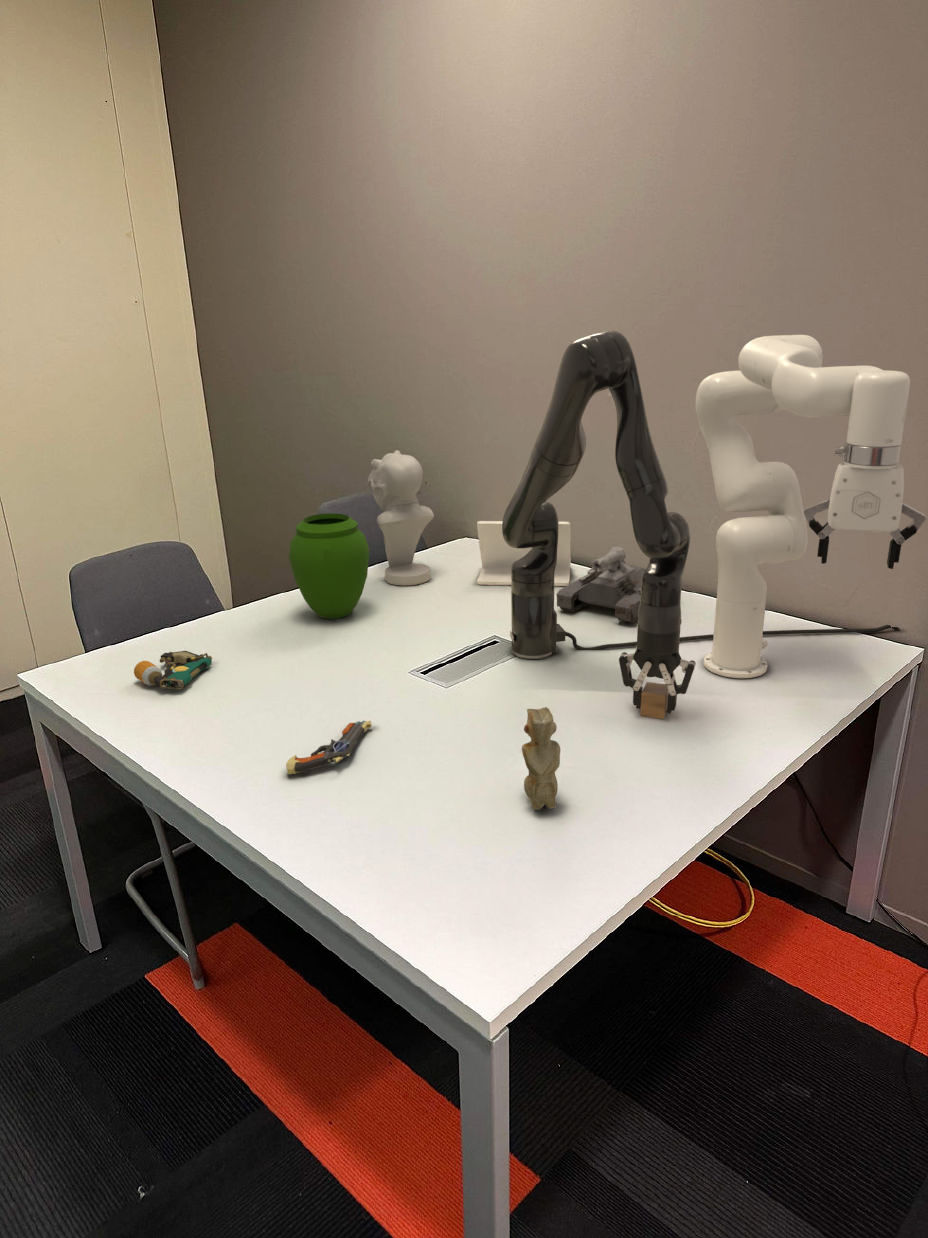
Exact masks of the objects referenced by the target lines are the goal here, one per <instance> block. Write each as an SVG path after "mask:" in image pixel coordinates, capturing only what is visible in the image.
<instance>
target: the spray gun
mask: <svg viewBox="0 0 928 1238" xmlns="http://www.w3.org/2000/svg"><path fill="white" fill-rule="evenodd" d="M212 660H213V657H212V656H211V655H208V653H207V652H205V653H201V654H197V653H194V652H192V651H191V652H190V651H188V650H180V651H169V652H164V653H162V654H161V655H160V658H159V660H158V662H159V663H161V664H163V663H165V664H166V668H165V670H163V672H164V674H163V673H162V669H160V668H159V666H157V665H156V664H154V663H152V662H151V661H149V660H141V661H139V662H138V663H136V665H135V666H134V668H133V675H134V677H135V678H136V679H137V680H139V681H140V682H142V683H143V684H145V685H147V686H155V685H157V686H158V687H160V688H161V689H171V690H172V689H173V690H182V689H184V687H185V686H186V685H188V684H189V683H190V682H191V681H192V679H193V678H195V677H196V676H197V675H198V674H200V673H201V672H202V671H203V670H206V669H208V668H209V667H210V666H211V665H212V662H213V661H212ZM178 663H179V664H181V665H179V666H176V665H177V664H178Z"/></svg>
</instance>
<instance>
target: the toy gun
mask: <svg viewBox="0 0 928 1238" xmlns="http://www.w3.org/2000/svg"><path fill="white" fill-rule="evenodd" d="M372 726H373V723H372V721H371V720H362V721H359V720H357V722H349V723H348V724H347V725H346V726H345V728H344V729H343V730H342V731H341V734H342V736H341V737H340V738H339V739H338V740H335V739H331V740H330V743H329V744H323V745H320V746H319V747H317V749H316V750H314V751H313V752H312V753H311V754H310V756H307V757H298V756H297V754H295V755H293V756H292V757H290V758H289V759H288V760H287V762H286V766H285V767H286V771H287V774H288V775H295V774H299V773H303V772H307V771H309V770H313V769H317V768H320V767H324V766H326V765H330V764H331V763H336V764H337V763H339V762H340V761H342V760H344V758H346V757H349V756H350V755H351V753H352V752H353V751H354V749H355V748H356V747H357V746H356V745H357V742H358V741H359V740H360V738H361V737H362V736H363V734H364V733H366V732H367V730H369V729H370V728H372Z"/></svg>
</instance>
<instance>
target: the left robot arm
mask: <svg viewBox="0 0 928 1238" xmlns="http://www.w3.org/2000/svg"><path fill="white" fill-rule="evenodd" d="M554 383H555V384H554V387H553V392H552V396H551V400H550V403H549V405H548V408H547V410H546V415H545V417H544V419H543V422H542V425H541V428H540V430H539V432H538V435H537V438H536V440H535V443H534V446H533V448H532V450H531V453H530V457H529V460H528V463H527V465H526V468H525V470H524V473H523V475H522V477H521V480H520V482H519V484H518V486H517V488H516V490H515V492H514V494H513V495H512V497H511V499H510V501H509V502H508V505H507V506H506V509H505V511H504V514H503V517H502V521H503V522H502V534H503V538H504V540H505V542H506V544H507V545H508V546H510V547H512V548H517V549H523V548H531V547H532V549H531V550H530V551H529V552H528V553H527V554H526V555H525V556H524V557H522V558H520V559H519V560H517V561H515V562H514V563H513V564H512V567H511V585H510V588H511V589H510V597H511V599H510V603H511V604H510V606H511V607H510V609H511V610H510V615H511V617H510V618H511V621H510V622H511V630H509V637H510V639H511V643H510V644H511V647H510V651H511V653H512V655H513V656H515V657H518V658H521V659H525V660H526V659H527V660H540V659H545V658H548V657H550V656H552V655H557V654H558V653H557V650H558V649H557V648H558V647H557V645H558V644H557V643H560V642H561V643H562V642H566V638H569V639H571V640H572V646H573V648H574V649H576V650H578V651H601V650H607V649H618V648H628V647H629V648H630V647H636V649H635V651H634V653H628V652H626V651H624V652H621V654H620V656H619V658H618V662H619V663H618V664H619V668H620V673H621V678H622V684H623V686H624V687H625V688H626V687H629V688H631V689H632V705H633V706H635V709H637V710H641V694H642V691H643V689H644V686H642V685H643V684H644V681H645V679H646V677H647V678H657V679H661V680H663V681H664V684H666V685H667V688H668V691H669V694H668V703H667V713H666V714H672V712H674V711H675V710H676V707H677V701H678V695H680V694H681V695H686V693H687V692H688V687H689V686H690V682H691V680H692V676H693V674H694V670H695V668H696V664H697V663H696V661H695V660H692V659H691V660H687V659H683V658H682V656H681V655H680V642H686V641H687V642H688V641H689V642H690V641H699V640H710V639H711V640H713V637H714V633H713V634H701V635H691V636H690V635H689V636H681V626H682V605H681V604H682V602H681V601H682V600H681V599H682V587H683V585H682V584H683V583H682V582H683V581H682V580H683V578H682V577H683V574H684V571H685V567H686V563H687V559H688V555H689V550H690V544H691V529H690V525H689V523H688V521H687V520H686V518H685V517H684V516H683V515H682V514H680V513H678V512H674V511H668V509H667V505H666V498H667V496H668V494H669V486H668V482H667V479H666V477H665V473H664V471H663V468H662V466H661V463H660V460H659V457H658V455H657V452H656V449H655V445H654V442H653V440H652V439H653V438H652V435H651V432H650V428H649V423H648V417H647V412H646V407H645V402H644V401H645V400H644V397H643V396H644V395H643V391H642V387H641V383H640V377H639V372H638V367H637V362H636V358H635V355H634V352H633V348H632V346H631V344H630V342H629V340H628V339H627V337H626V336H625V335H623V334H622V333H621V332H619V331H618V330H613V329H611V330H605V331H601V332H598V333H595V334H592V335H588V336H585V337H584V336H583V337H581V338H578V339H576V340H573V342H571V343H570V344H569V345H568V346H567V347H566V349H565V350H564V353H563V354H562V357H561V361H560V364H559V367H558V372H557V376H556V379H555V382H554ZM605 390H609V392H610V395H611V397H612V399H613V402H614V406H615V411H616V435H615V447H614V457H615V466H616V468H617V473H618V476H619V478H620V481H621V483H622V487H623V489H624V492H625V494H626V497H627V499H628V502H629V508H630V510H629V511H630V519H631V523H632V530H633V535H634V538H635V541H636V543H637V546H638V548H639V549H640V551H641V552H642V553H643V555H644V556H646V557H647V558H648V559H649V561H648V565H647V566H646V568H644V569H645V571H644V572H643V575H642V579H641V596H640V606H639V611H638V620H637V633H636V641H629V642H620V643H619V642H618V643H606V644H600V645H596V646H591V647H584V646H581V645H578V644H577V638H576V636H575V635H573V634H572V633H570V632H568V631H566V630H565V629H564V628H563V626H561V625H560V623H558V613H557V612H556V611H555V586H554V571H555V568H556V564H557V548H558V533H559V522H560V521H559V516H558V512H557V509H556V507H555V506H554V504H553V503H551V502H550V501H548V500H549V499H550V498H551V497H553V496H554V495H555V494H557V493H558V492H559V491H561V489H563V488H564V487H565V486H566V485H567V484H568V483H569V482H570V481H571V480H572V478H573V477H574V476H575V474H576V472H577V471H578V468H579V466H580V465H581V461H582V459H583V457H584V454H585V451H586V449H587V437H586V436H587V435H586V432H585V429H584V426H583V423H582V419H583V416H584V413H585V410H586V408H587V406H588V404H589V402H590V400H591V399H592V398H593V396H594V395H595V394H596V393H599V392H602V391H605ZM888 629H892V630H894V631H896V632H901V629H900V628H899V627H898V626H897V627H892V628H891V626H890V625H888V624H885V625H882V626H878V627H871V628H869V627H868V628H824V629H823V628H819V629H817V628H816V629H815V628H813V629H782V630H763V635H762V636H775V635H776V636H777V635H804V634H807V635H809V634H812V635H813V634H864V633H865V634H866V633H878V632H882V631H886V630H888ZM633 661H634V662H635V663H636V664H637V667H638V668H639V669H640V672H639V674H638V676H637V678H633V674H632V669H631V666H632V664H633ZM678 667H681V673H683V674H684V676H683V679H682V682H681V684H678V683H677V680H676V675H675V673H674V671H675V670H676V669H677V668H678Z"/></svg>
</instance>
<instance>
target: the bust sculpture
mask: <svg viewBox="0 0 928 1238" xmlns="http://www.w3.org/2000/svg"><path fill="white" fill-rule="evenodd" d="M370 463H371V467H372V470H371V473H370V474H369V475H368V479H367V483H366V484H367V486H371V490H372V492H373V499H374V501H375V503H376V504H377V505H378V507H379V508H380V510H381V511H382V512H381V513H380V514H379V515H378V516H377V518H376V523H377V525H378V528H379V529H380V531H381V532H382V534H383V535H382V536H383V542H384V550H385V554H386V559H387V564H388V566H387V567H386V568H385V569H384V579H385V582H387V583H388V584H391V585H394V586H395V585H396V586H416V585H420V584H424V583H426V582H428V581H430V580H431V577H432V576H431V566H429V565H427V564H425V563H421V562H420V563H419V562H414V557H415V555H416V554H415V553H416V550H417V546H418V544H419V541H420V538H421V536H422V533H423V531H424V530H425V528H426V527H427V525H428V524H429V523H430V522H431V521H432V520H433V519H434V517H435V515H434V512H433V510H432V509H431V508H430V507H429V506H425V505H420V503H419V500H418V497H417V493H418V492H419V490H420V489H421V486H422V482H423V479H424V471H423V467H422V465H421V463H420V462H419V461H418V460H417V459H416V458H415V457H414V456H412V455H409V454H402V453H401V451H400V450H398V449H397V450H394V452H392V453H390V452H389V453H386V454H385V455H383V457H382V458H381V459H376V458H373V459H372V460H371V462H370Z"/></svg>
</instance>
